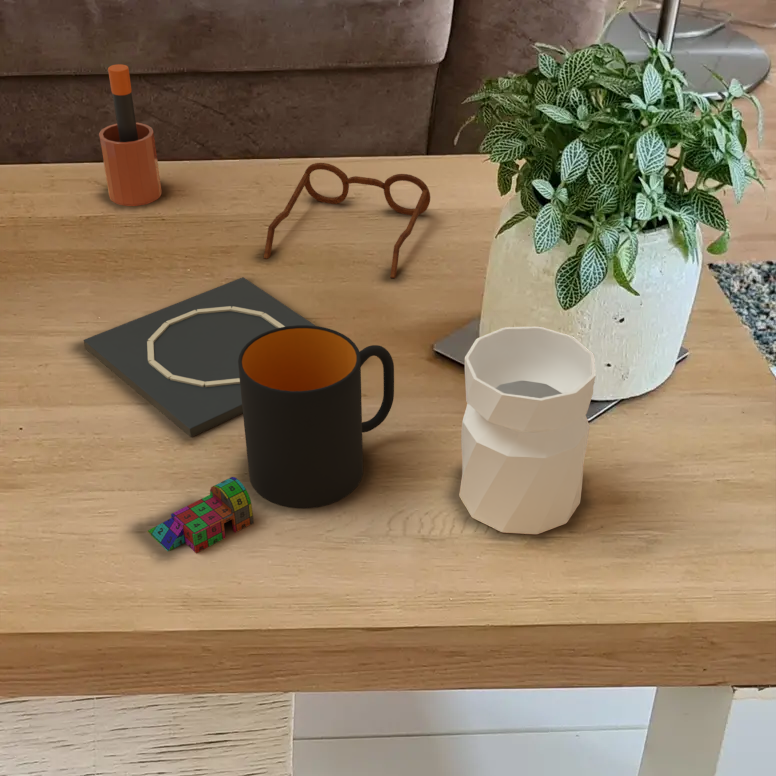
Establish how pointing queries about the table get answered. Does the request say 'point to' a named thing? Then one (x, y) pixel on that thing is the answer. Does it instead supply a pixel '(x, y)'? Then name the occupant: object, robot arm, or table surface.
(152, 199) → the pen cup
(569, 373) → the vase
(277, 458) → the mug
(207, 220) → the table surface
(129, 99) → the marker
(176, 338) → the board
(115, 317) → the table surface
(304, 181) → the glasses
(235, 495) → the toy block structure
